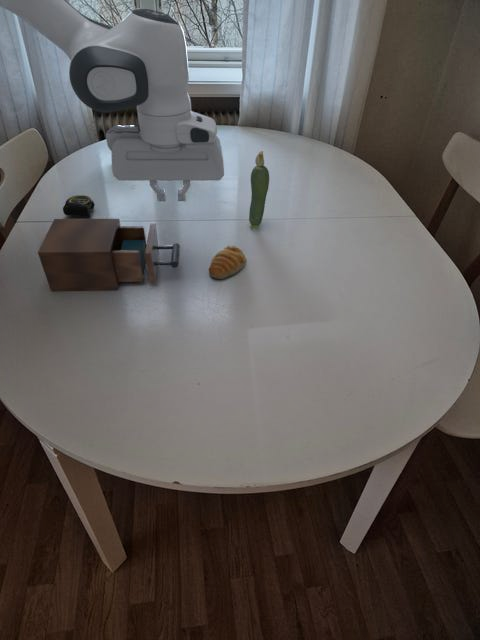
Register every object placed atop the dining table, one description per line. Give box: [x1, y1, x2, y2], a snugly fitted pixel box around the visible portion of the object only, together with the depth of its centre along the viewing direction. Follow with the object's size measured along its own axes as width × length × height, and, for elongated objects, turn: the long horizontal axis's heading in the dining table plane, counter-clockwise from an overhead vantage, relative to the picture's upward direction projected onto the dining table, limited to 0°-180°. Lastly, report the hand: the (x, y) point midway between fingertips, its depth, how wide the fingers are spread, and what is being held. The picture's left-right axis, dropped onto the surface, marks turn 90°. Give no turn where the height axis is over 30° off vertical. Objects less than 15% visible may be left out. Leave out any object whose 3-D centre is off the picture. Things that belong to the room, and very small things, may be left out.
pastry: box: [208, 245, 248, 280], centre depth 94 cm, size 9×7×4 cm
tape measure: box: [62, 194, 95, 218], centre depth 111 cm, size 7×7×4 cm
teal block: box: [121, 240, 146, 272], centre depth 91 cm, size 7×4×4 cm, turn 3°
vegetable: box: [248, 150, 270, 230], centre depth 102 cm, size 4×4×20 cm
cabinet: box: [37, 218, 121, 292], centre depth 90 cm, size 14×13×10 cm
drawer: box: [111, 223, 181, 285], centre depth 91 cm, size 18×11×8 cm, turn 93°
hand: (172, 200), depth 83 cm, fingers closed
